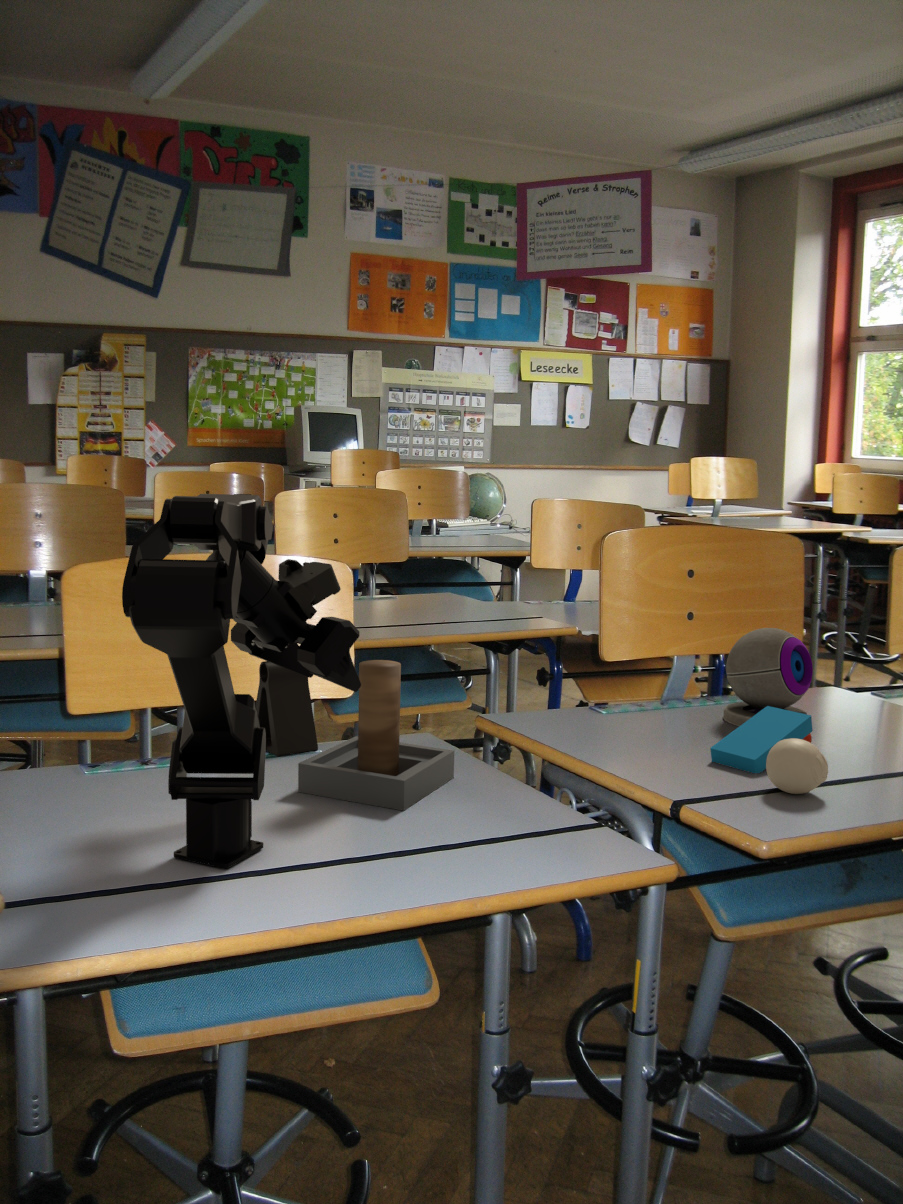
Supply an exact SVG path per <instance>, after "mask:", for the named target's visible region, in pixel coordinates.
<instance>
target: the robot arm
mask: <svg viewBox="0 0 903 1204" xmlns="http://www.w3.org/2000/svg"><path fill="white" fill-rule="evenodd" d="M262 503H263V502H262V498H261V497H260V495H258V494H251V493H249V494H247V493H234V494H232V493H231V494H226V493H225V494H224V493H222V494H220V493H200V494H198V495H197V496H196V495H192V496H191V495H188V496H187V495H174V496H172V498H166V499H164V502H163V505H162V510H161V514H160V517H159V520H157V521H156V522H155V523H154V524H153V525H152V526H150V528H149V529H147V531H145V532H144V534H142V535H141V536H140V537H139V538H137V540H136V541H135V542H134V543H133V544H132V546H131V548H130V549H131V550H130V554H129V558H128V562H127V566H126V570H125V573H124V578H123V582H122V589H121V590H122V591H121V598H122V599H121V603H122V610H123V614H124V616H125V617H126V618H130V622H131V626H132V628H133V629H134V630H135V633H136V634H137V636H138V638H139V640H140V641H141V643H143V644H145V645H147V646H149V647H151V648H153V649H155V650H158V651H159V652H162V653H164V654H166V655H167V658H168V662H169V665H170V667H171V671H172V674H173V677H174V680H175V683H176V686H177V689H178V692H179V693H178V694H179V696H180V698H181V702H182V704H183V707H184V717H183V722H182V724H183V725H182V726H180V727H179V728H178V731H177V736H176V738H175V739H174V740H173V741H172V744H171V752H170V758H169V768H168V783H167V784H168V795H170V797H171V798H170V800H171V801H175V800H176V801H177V800H185V821H186V822H185V831H186V833H185V836H186V837H185V839H186V842H185V843H186V844H185V845H184V846H183V847H180V848H178V849H176V850H174V851H173V858H175V859H178V860H184V861H188V862H194V863H197V864H201V865H202V864H203V865H207V866H211V867H216V868H220V869H228V868H230V867H232V866H234V865H236V864H238V863H240V862H241V861H242V860H244V859H246V858H249V857H250V856H252V855H253V854H255V853H257V852H259V851H260V850H262V849H263V848H264V842H262V841H259V840H254V839H251V838H252V835H253V832H252V828H253V827H252V825H253V822H252V821H253V820H252V814H253V813H252V810H253V804H252V803H253V802H252V800H253V801H259V800H260V798H261V796H262V792H263V790H264V787H265V775H266V774H265V773H266V772H265V771H266V770H265V769H266V768H265V767H266V751H267V750H266V731H265V728H260V725H259V720H258V717H257V711H256V709H255V705H256V701H255V698H254V697H253V696H252V695H251V694H250V693H235V690H234V686H233V682H232V681H233V680H232V676H231V672H230V669H229V663H228V659H227V653H226V651H225V645H226V644H228V642H229V641H228V640H229V633H230V641H231V642H232V644H234V645H235V647H237V648H238V649H239V650H240V651H241V652H244V653H248V654H249V655H250V656H253V657H256V658H258V659H260V660H263V661H268V662H270V663H273V664H276V665H278V666H281V667H284V668H286V669H289V670H291V671H294V672H296V673H299V674H301V675H304V676H306V677H308V679H312V677H313V676H316V677H319V678H321V679H324V680H326V681H328V682H330V683H332V684H335V685H338V686H340V687H342V688H345V689H347V690H349V691H352V692H354V693H357V692H359V688H360V687H361V682H360V680H359V674H358V671H357V670H356V668H355V665H354V662H353V660H352V656H351V652H350V651H351V648H352V647H353V645H354V644H355V643H356V642H357V640H358V639H359V638H360V630H359V629H358V628H357V627H356V626H355V625H354V623H352V622H351V620H349V619H343V618H340V617H335V616H325V617H321V618H320V619H319V620H318V622H317V623H316V625H315V624H311V623H308V622H307V621H308V620H312V619H313V617H314V616H315V615H316V613H317V612H318V611H317V609H316V608H315V607H314V606H316V605H318V604H319V603H322V601H324V600H326V599H327V598H329V597H330V596H332V595H334V596H335V595H337V594H338V593H339V592H340V591H341V590H342V588H341V586H340V583H339V580H338V579H337V576H336V573H335V570H334V567H333V566H332V564H331V563H326V562H318V561H311V562H306V561H305V562H303V563H302V564H301V562H299V561H298V560H296V559H289V558H287V559H286V560H283V561H282V562H280V563H279V564H278V580H276V579H275V578H274V577H273V576H272V574H271V573H270V572H269V571H268V569H266V567H264V566H263V564H264V561H265V559H266V555H267V549H268V543H269V540H272V537H273V530H274V523H273V521H272V517H271V514H270V511H269V508H268V506H267V505H265V506H264V505H262ZM176 544H177V545H178V544H179V545H194V546H195V547H196V548H198V549H199V550H200V551H212V553H210V554H209V555H208V557H207V558H206V559H168V558H166V557H167V556H168V555H169V554H170V553H171V552H172V551H173V548H174V545H176ZM165 558H166V559H165ZM231 620H233V622H235V624H234V626H233V627H232V628H231V629H230V626H231V625H230V623H231ZM188 774H201V775H202V774H210V775H211V774H212V775H213V774H218V775H219V774H226V775H227V774H228V775H229V774H230V775H231V774H232V775H233V774H237V775H241V774H243V775H252V777H251V776H249V777H245V776H244V777H243V776H242V777H238V776H237V777H234V776H233V777H232V776H230V777H229V776H226V777H225V776H224V777H223V776H217V777H216V776H214V777H213V776H187V775H188Z"/></svg>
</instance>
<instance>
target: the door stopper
mask: <svg viewBox="0 0 903 1204" xmlns="http://www.w3.org/2000/svg"><path fill="white" fill-rule="evenodd" d="M258 673H259V680H258V681H259V683H258V689H257V694H256V700H255V709H256V711H257V717H258V720H259V725H260V728H265V731H266V751H267V752H268V753H270V754H272V755H274V756H276V757H282V756H289V755H295V754H302V753H308V752H314V751H318V750H319V745H318V737H317V731H316V724H315V719H314V713H313V712H314V711H313V705H312V698H311V691H310V686H309V685H310V684H309V677H306V676H304V675H301V674H299V673H296V672H294V671H291V670H289V669H286V668H284V667H281V666H278V665H276V664H273V663H270V662H268V661H265V660H263V661H261V662H260V664H259V669H258Z"/></svg>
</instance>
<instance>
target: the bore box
mask: <svg viewBox="0 0 903 1204" xmlns="http://www.w3.org/2000/svg"><path fill="white" fill-rule="evenodd" d="M297 765H298V766H297V769H298V770H297V771H298V773H297V778H298V779H297V782H298V783H297V788H298V789H297V793H303V794H307V795H308V794H309V795H314V796H319V797H326V798H331V799H335V800H342V801H347V802H353V803H359V804H363V805H369V806H370V805H371V806H374V807H375V806H376V807H381V808H385V809H386V808H387V809H392V810H398V811H401V812H404V811H406V810H407V809H409V808H410V807H412V806H413V805H414V804H417V803H418V802H419V801H421V800H423V799H424V798H425V797H427V796H429V795H430V794H431V793H433V792H435V791H436V790H438V789H439V788H441V787H442V786H443V785H445V784H446V783H448V782H450V781H451V780H452V779H454V777H455V750H453V749H448V748H447V749H446V748H439V747H434V746H433V747H432V746H425V745H419V744H413V743H412V744H411V743H406V742H405V743H404V742H400V741H399V775H398V776H391V775H384V774H378V773H372V772H366V771H360V770H358V735H356V736H354V737H351V738H349V739H347V740H345V741H343V742H341V743H338V744H336V745H334V746H333V747H330V748H328V749H325V750H323V751H321V752H320V753H317V754H314V755H313V756H311V757H309V758H306V759H305V760H302V761H300V762H298V764H297Z"/></svg>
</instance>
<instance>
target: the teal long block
mask: <svg viewBox="0 0 903 1204" xmlns="http://www.w3.org/2000/svg"><path fill="white" fill-rule="evenodd" d="M812 719H813V718H812V714H811V715H810V714H808V713H807V714H802V713H798V712H793V711H789V710H784V709H779V708H775V707H770V706H766V707H765V708H764V709H762V710H761V711H760V712H758V713H757V714H756V715H754V716H753V717H752V718H750V719H749V720H747V721H746V722H745V723H743V724H742V725H741V726H737V728H735V729H734V730H733V731H731V732H729V733H728V734H727V735H726V736H724V737H723V738H721V739H720V740H719V741H718V742H716V743H715V744H714V745H712V746H711V747H710V758H711V762H712V763H714V762H716V763H715V764H718V763H720V764H719V765H722V764H723V765H722V766H725V765H727V766H726V767H729V766H731V767H730V768H733V767H734V769H736V768H737V770H740V769H741V771H744V770H745V771H744V772H747V771H749V772H748V773H751V772H752V773H751V774H755V773H758V774H760V772H761V773H763V771H765V770H766V760H767V756H768V753H769V751H770V750H771V748H772V747H773V746H774V745H775V744H776V743H777V742H779V741H781V740H784V739H790V738H796V739H802V740H805V741H808V742H810V743H812V734H811V733H813V722H812V721H813V720H812Z"/></svg>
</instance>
